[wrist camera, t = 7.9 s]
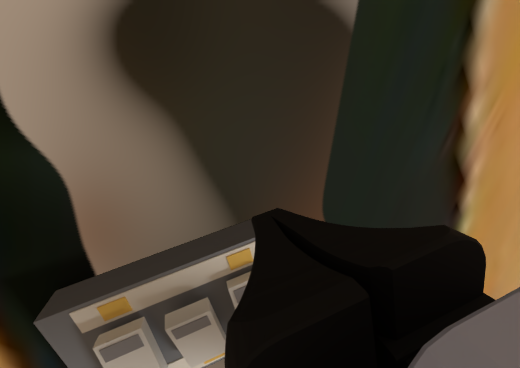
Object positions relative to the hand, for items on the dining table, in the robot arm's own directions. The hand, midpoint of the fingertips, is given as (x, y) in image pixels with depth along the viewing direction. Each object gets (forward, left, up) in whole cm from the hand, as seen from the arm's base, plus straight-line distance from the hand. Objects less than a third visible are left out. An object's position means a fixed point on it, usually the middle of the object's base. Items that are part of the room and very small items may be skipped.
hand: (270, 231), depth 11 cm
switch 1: (-9, +11, -5) cm, 15 cm away
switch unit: (-9, +6, -9) cm, 14 cm away
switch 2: (-9, +6, -5) cm, 12 cm away
